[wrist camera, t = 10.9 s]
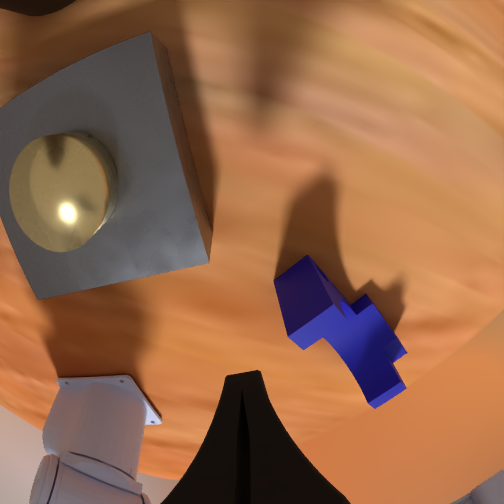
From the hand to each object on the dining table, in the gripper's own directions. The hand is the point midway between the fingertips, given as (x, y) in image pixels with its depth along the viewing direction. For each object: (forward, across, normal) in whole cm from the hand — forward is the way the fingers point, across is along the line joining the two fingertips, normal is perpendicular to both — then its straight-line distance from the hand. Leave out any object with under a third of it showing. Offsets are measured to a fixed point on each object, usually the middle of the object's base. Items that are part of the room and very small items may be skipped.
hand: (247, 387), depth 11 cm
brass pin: (+10, +7, -9) cm, 15 cm away
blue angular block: (+10, -7, +6) cm, 14 cm away
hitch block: (+10, +7, -9) cm, 15 cm away
